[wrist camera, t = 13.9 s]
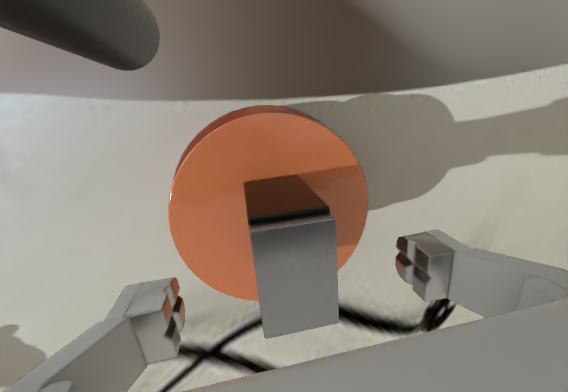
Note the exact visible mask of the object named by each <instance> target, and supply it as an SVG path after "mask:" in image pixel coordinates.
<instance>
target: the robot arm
mask: <svg viewBox="0 0 568 392" xmlns="http://www.w3.org/2000/svg"><path fill="white" fill-rule="evenodd" d="M396 248H397V249H398V250H399V251H400V252H399V253H398V255H397V256H396V268H397V272H398V274H399V275H400V277H401V278H402V279H403V280H404V281H405V282H407V283H409V284H412V285H413V290H414V291H415V292H416V293H417V294H418V295H419V296H420V297H421V298H422V299H423V300H424V301H425V302H428V301H433V300H439V299H444V298H448V299H449V300H451V301H453V302H455V303H457V304H459V305H461V306H463V307H465V308H467V309H469V310H471V311H473V312H475V313H477V314H479V315H481V316H483V317H485V318H484V319H480V320H476V321H472V322H468V323H464V324H459V325H455V326H451V327H447V328H443V329H439V330H434V331H430V332H426V333H422V334H418V335H414V336H409V337H405V338H401V339H397V340H393V341H389V342H385V343H380V344H376V345H372V346H368V347H364V348H360V349H356V350H352V351H348V352H343V353H339V354H335V355H331V356H327V357H323V358H319V359H315V360H311V361H307V362H302V363H298V364H294V365H290V366H286V367H282V368H278V369H274V370H269V371H265V372H261V373H257V374H253V375H249V376H245V377H240V378H236V379H232V380H228V381H224V382H220V383H216V384H211V385H207V386H203V387H199V388H195V389H191V390H187V391H182V392H568V271H567V270H565V269H561V268H557V267H553V266H549V265H544V264H540V263H536V262H532V261H527V260H523V259H519V258H514V257H510V256H506V255H502V254H497V253H493V252H489V251H485V250H480V249H476V248H474V249H471V248H469V247H467V246H465V245H464V244H462V243H460V242H459V241H457V240H455V239H453V238H452V237H450V236H448V235H447V234H445V233H443V232H441V231H440V230H430V231H426V232H422V233H417V234H412V235H407V236H403V237H398V240H397V245H396ZM179 289H180V287H179V284H178V281H177V279H176V278H175V277H174V278H168V279H162V280H156V281H150V282H144V283H137V284H132V285H128V286H126V287H125V288H124V289H123V291H122V293H121V294H120V296H119V297H118V299H117V301H116V302H115V304H114V306H113V307H112V309H111V310H110V312H109V314H108V315H107V317H106V319H105V320H104V321H103V322H98V323H97V324H95V325H94V326H93V327H91V328H90V329H89V330H87V331H86V332H84V333H83V334H82V335H80V336H79V337H77V338H76V339H75V340H73V341H72V342H71V343H69V344H68V345H66V346H65V347H64V348H62V349H61V350H59V351H58V352H57V353H55V354H54V355H52V356H51V357H50V358H48V359H47V360H46V361H44V362H43V363H41V364H40V365H39V366H37V367H36V368H34V369H33V370H32V371H30V372H29V373H27V374H26V375H25V376H23V377H22V378H21V379H19V380H18V381H16V382H15V383H14V384H12V385H11V386H9V387H8V388H7V389H5V390H4V391H3V392H127V391H128V390H129V388H130V387H131V386H132V385H133V383H134V382H135V381H136V380H137V379H138V377H139V376H140V375H141V374H142V372H143V371H144V370H145V369H146V367H147V365H149V364H153V363H157V362H161V361H165V360H169V359H173V358H177V353H178V349H179V345H180V341H181V338H180V335H179V332H180V331H181V330H182V329H183V327H184V322H185V307H184V302H183V299H182V298H181V297H180V296H178V292H179Z"/></svg>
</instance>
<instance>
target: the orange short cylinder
mask: <svg viewBox="0 0 568 392" xmlns="http://www.w3.org/2000/svg"><path fill="white" fill-rule="evenodd" d="M293 175H298V176H299V177H300V178H301V179H302V180H303V181H304V182H305V183H306V184H307V185H308V186H309V187H310V188H311V189H312V190H313V191H314V192H315V193H316V194H317V195H318V196H319V197H320V198H321V199H322V200H323V201H324V202H325V203H326V204H327V205H328V206H329V207H330V213H331V214H332V215H333V216H334V217H335V218H336V241H337V271H338V270H339V269H340V268H341V267H342V266H343V265H344V264H345V262H346V261H347V260H348V259H349V257H350V256H351V255H352V253H353V251H354V250H355V248H356V246H357V244H358V242H359V240H360V238H361V236H362V233H363V230H364V227H365V223H366V218H367V211H368V191H367V186H366V181H365V177H364V174H363V171H362V168H361V166H360V164H359V162H358V160H357V158H356V157H355V155H354V154H353V152H352V151H351V149H350V148H349V147H348V146H347V144H346V143H345V142H344V141H343V140H342V139H341V138H340V137H339V136H337V135H336V134H335V133H334V132H332V131H331V130H330V129H328V128H327V127H326V126H324V125H323V124H322V123H321V122H319V121H318V120H316V119H314V118H313V117H311V116H309V115H307V114H305V113H303V112H300V111H298V110H295V109H291V108H287V107H282V106H273V105H262V106H252V107H246V108H242V109H239V110H236V111H232V112H230V113H228V114H226V115H224V116H222V117H219V118H218V119H216V120H215V121H213V122H212V123H210V124H209V125H207V126H206V127H205V128H204V129H203V130H202V131H200V132H199V133H198V134H197V135H196V136H195V138H194V139H193V140H192V141H191V142H190V143H189V145H188V146H187V148H186V150H185V151H184V153H183V154H182V156H181V158H180V161H179V163H178V165H177V168H176V171H175V175H174V178H173V184H172V188H171V192H170V197H169V205H168V219H169V226H170V232H171V235H172V238H173V241H174V244H175V246H176V248H177V250H178V252H179V254H180V256H181V258H182V259H183V261H184V262H185V264H186V265H187V266H188V268H189V269H190V270H191V271H192V272H193V273H194V274H195V275H196V276H197V277H198V278H200V279H201V280H202V281H203V282H204V283H206V284H207V285H209V286H211V287H212V288H214V289H216V290H218V291H220V292H222V293H224V294H227V295H230V296H233V297H236V298H240V299H245V300H253V301H259V296H258V289H257V282H256V275H255V268H254V262H253V255H252V248H251V241H250V234H249V226H248V219H247V210H246V202H245V193H244V185H243V183H244V182H247V181H255V180H262V179H270V178H278V177H285V176H293Z"/></svg>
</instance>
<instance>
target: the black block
mask: <svg viewBox="0 0 568 392" xmlns="http://www.w3.org/2000/svg"><path fill="white" fill-rule="evenodd" d="M243 185H244V193H245V202H246V210H247V219H248V226H249V234H250V241H251V248H252V255H253V262H254V268H255V275H256V282H257V289H258V296H259V303H260V310H261V316H262V323H263V330H264V337H265V338H266V339H268V338H272V337H277V336H281V335H286V334H291V333H295V332H300V331H304V330H309V329H314V328H318V327H323V326H327V325H332V324H337V323H339V311H338V276H337V241H336V218H335V217H334V216H333V215H332V214H331V213H330V207H329V206H328V205H327V204H326V203H325V202H324V201H323V200H322V199H321V198H320V197H319V196H318V195H317V194H316V193H315V192H314V191H313V190H312V189H311V188H310V187H309V186H308V185H307V184H306V183H305V182H304V181H303V180H302V179H301V178H300V177H299V176H298V175H293V176H285V177H278V178H270V179H262V180H255V181H247V182H244V183H243Z"/></svg>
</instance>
